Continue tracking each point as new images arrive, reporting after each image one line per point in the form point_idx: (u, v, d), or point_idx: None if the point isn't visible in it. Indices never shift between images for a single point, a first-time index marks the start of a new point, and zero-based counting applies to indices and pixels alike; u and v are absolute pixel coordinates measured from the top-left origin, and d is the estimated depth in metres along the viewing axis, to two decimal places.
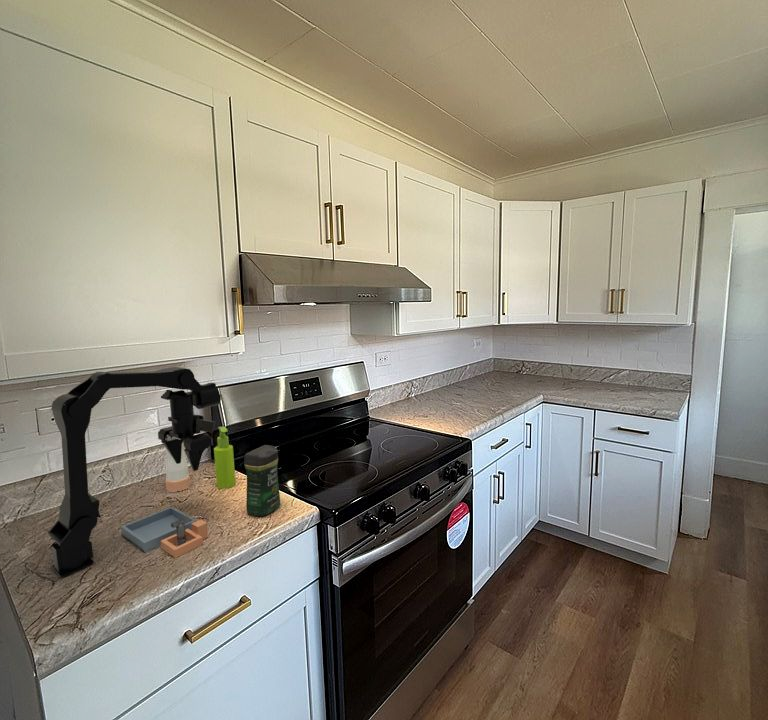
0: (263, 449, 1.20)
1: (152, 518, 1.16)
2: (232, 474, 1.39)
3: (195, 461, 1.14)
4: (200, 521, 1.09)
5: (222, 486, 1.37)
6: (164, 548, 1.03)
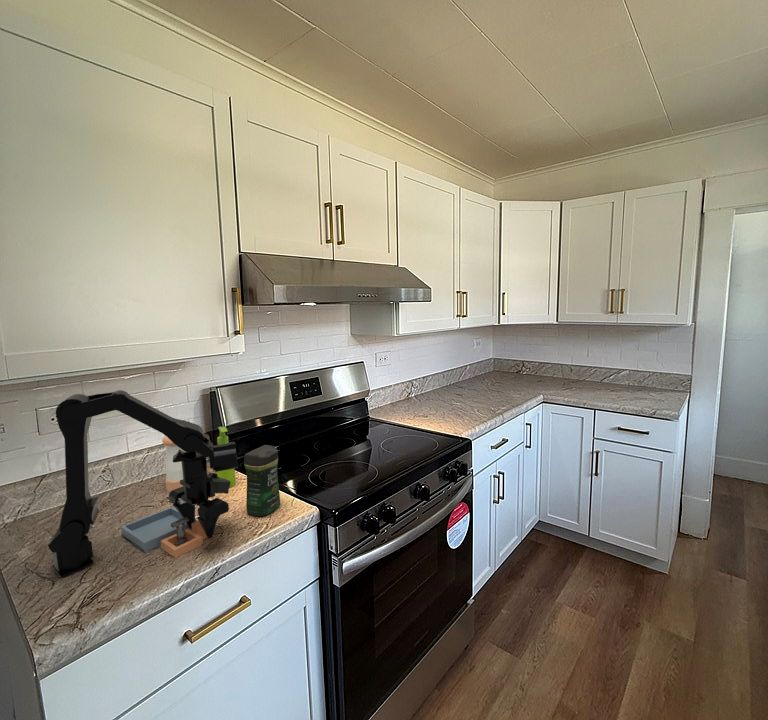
0: (263, 449, 1.20)
1: (152, 518, 1.16)
2: (232, 474, 1.39)
3: (209, 528, 1.05)
4: None
5: None
6: (164, 548, 1.03)
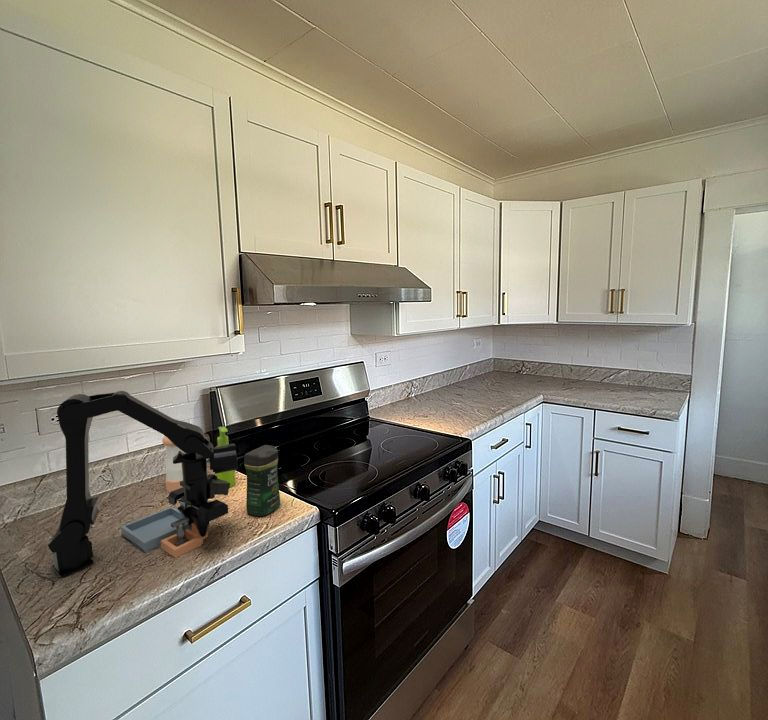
0: (263, 449, 1.20)
1: (152, 518, 1.16)
2: (232, 474, 1.39)
3: (203, 527, 1.06)
4: None
5: None
6: (164, 548, 1.03)
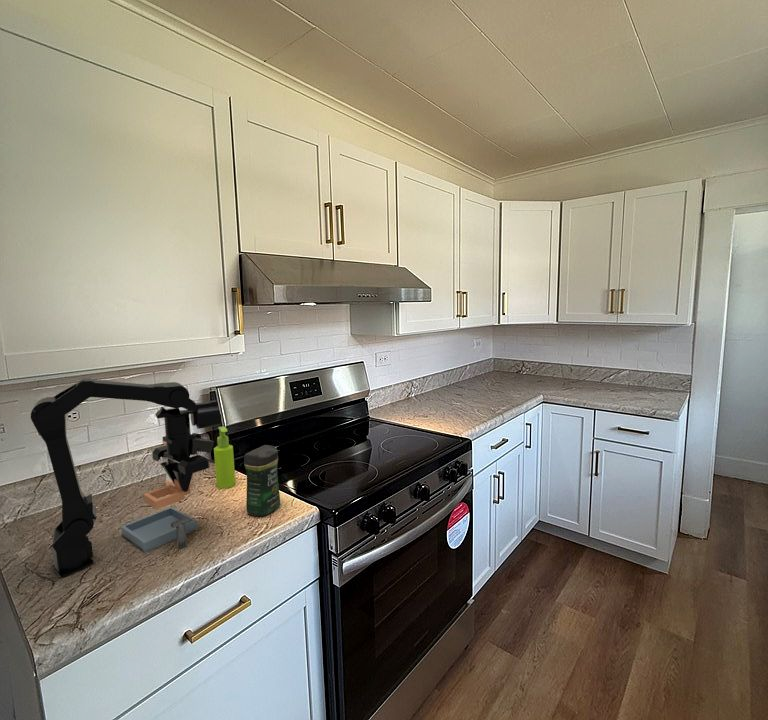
0: (263, 449, 1.20)
1: (152, 518, 1.16)
2: (232, 474, 1.39)
3: (185, 482, 1.08)
4: None
5: (222, 486, 1.37)
6: (146, 501, 1.05)
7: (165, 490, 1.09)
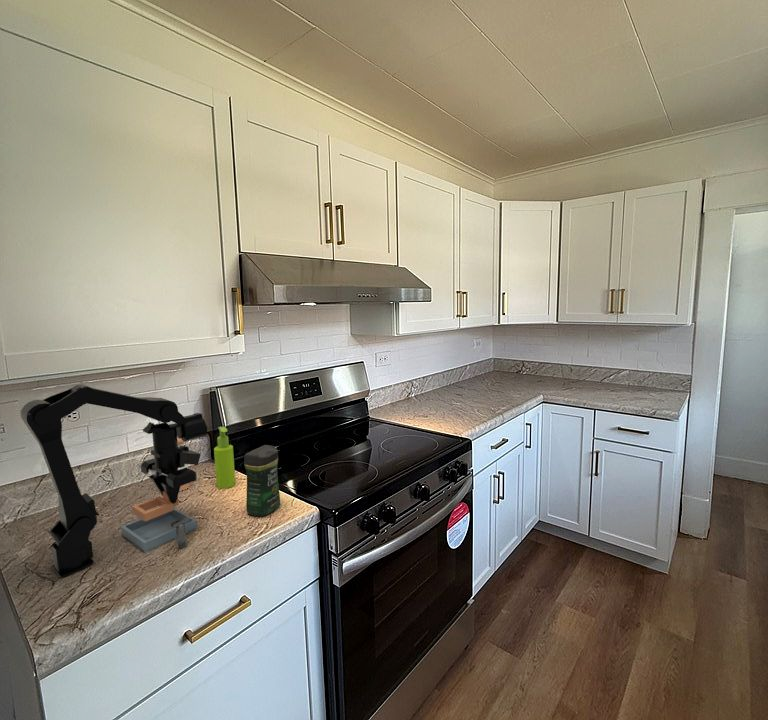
0: (263, 449, 1.20)
1: None
2: (232, 474, 1.39)
3: (173, 494, 1.11)
4: None
5: (222, 486, 1.37)
6: (135, 513, 1.08)
7: (154, 502, 1.12)
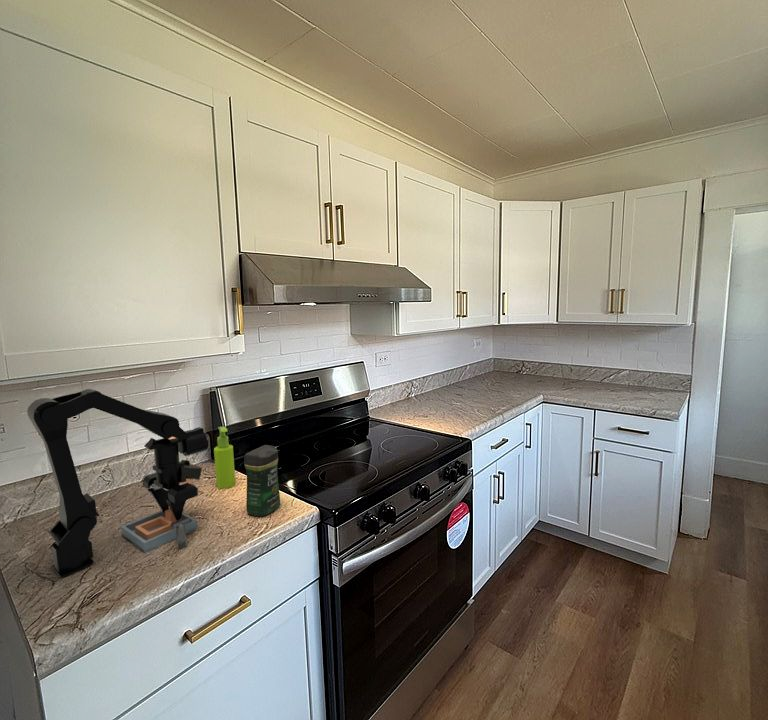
0: (263, 449, 1.20)
1: (152, 518, 1.16)
2: (232, 474, 1.39)
3: (178, 511, 1.11)
4: None
5: (222, 486, 1.37)
6: (138, 534, 1.09)
7: (156, 522, 1.13)
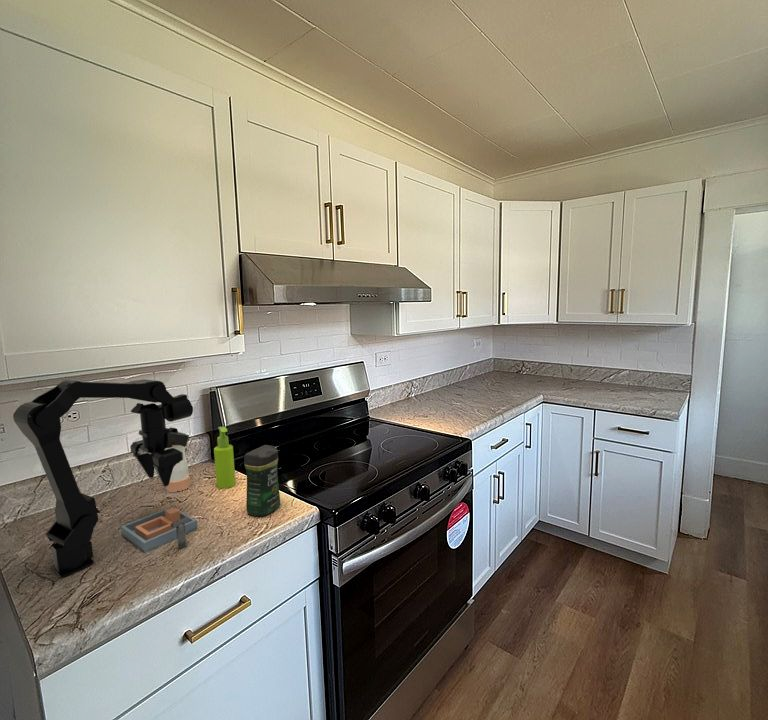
0: (263, 449, 1.20)
1: (152, 518, 1.16)
2: (232, 474, 1.39)
3: (165, 476, 1.11)
4: (173, 509, 1.15)
5: (222, 486, 1.37)
6: (138, 534, 1.09)
7: (156, 522, 1.13)
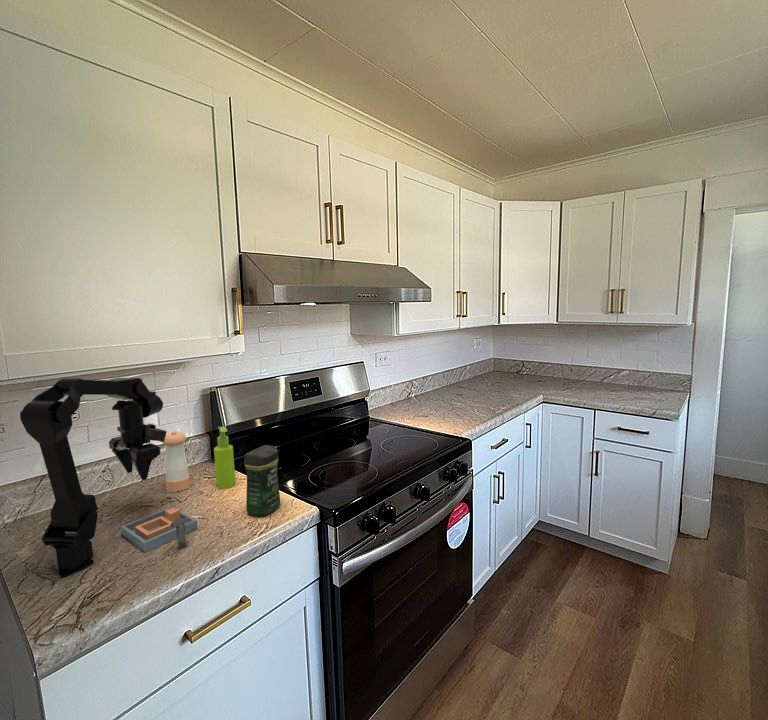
0: (263, 449, 1.20)
1: (152, 518, 1.16)
2: (232, 474, 1.39)
3: (143, 471, 1.15)
4: (173, 509, 1.15)
5: (222, 486, 1.37)
6: (138, 534, 1.09)
7: (156, 522, 1.13)
